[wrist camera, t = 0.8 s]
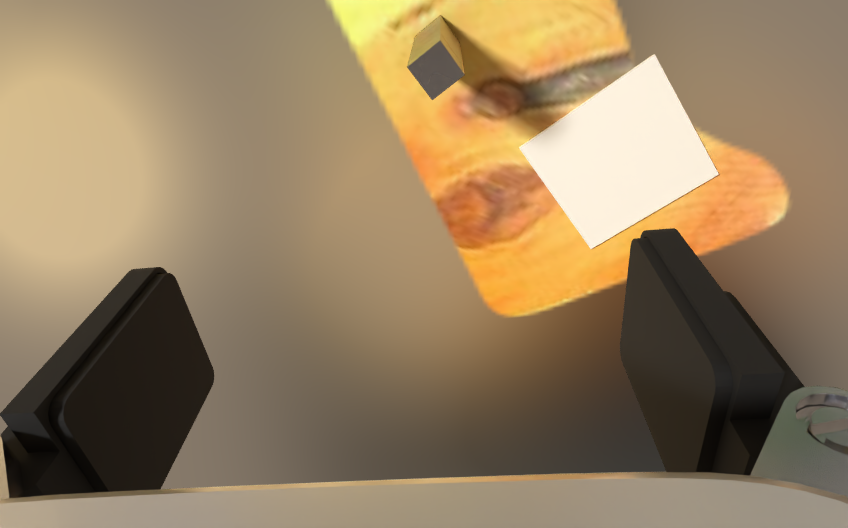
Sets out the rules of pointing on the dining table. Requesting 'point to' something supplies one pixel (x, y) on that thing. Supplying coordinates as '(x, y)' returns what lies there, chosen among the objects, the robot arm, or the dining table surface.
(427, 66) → the post
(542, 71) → the dining table surface
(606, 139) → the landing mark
